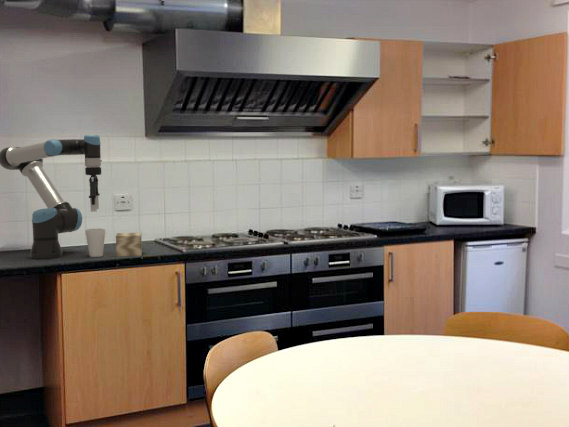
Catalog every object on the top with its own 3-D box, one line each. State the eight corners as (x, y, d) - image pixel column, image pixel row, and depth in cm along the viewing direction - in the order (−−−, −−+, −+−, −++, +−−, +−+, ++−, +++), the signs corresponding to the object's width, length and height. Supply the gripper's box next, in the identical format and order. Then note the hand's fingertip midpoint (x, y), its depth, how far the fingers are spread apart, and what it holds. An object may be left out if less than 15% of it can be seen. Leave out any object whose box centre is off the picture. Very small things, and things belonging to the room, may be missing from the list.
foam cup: (107, 254, 365) (106, 228, 364) (105, 257, 356) (104, 230, 355) (87, 254, 364) (86, 228, 363) (85, 257, 355) (84, 231, 353)
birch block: (116, 256, 357) (115, 236, 356) (117, 252, 369) (117, 233, 368) (141, 255, 359) (140, 235, 358) (141, 252, 371) (141, 232, 370)
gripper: (99, 167, 344) (100, 212, 346) (102, 165, 368) (104, 207, 371) (82, 167, 343) (84, 212, 345) (87, 166, 367) (89, 208, 369)
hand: (94, 210), depth 358 cm, fingers open, 13 cm apart
